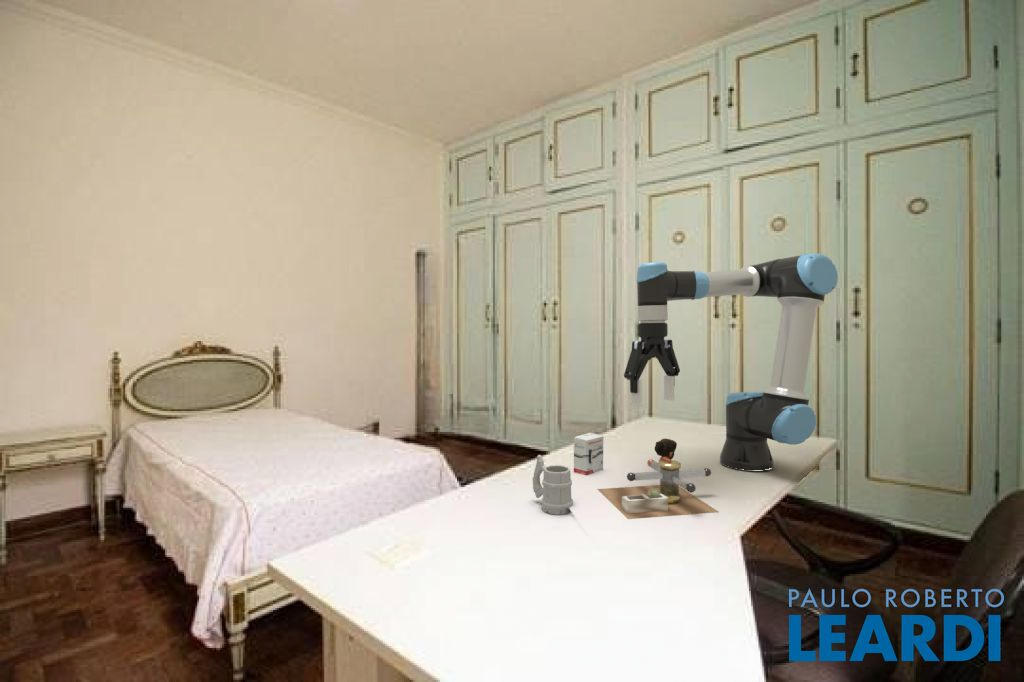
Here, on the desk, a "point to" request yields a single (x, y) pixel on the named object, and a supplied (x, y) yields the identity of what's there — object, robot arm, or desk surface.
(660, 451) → the figurine
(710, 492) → the desk surface
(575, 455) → the ink box
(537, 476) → the mug
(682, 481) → the capstan
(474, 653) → the desk surface
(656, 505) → the stand
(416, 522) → the desk surface
